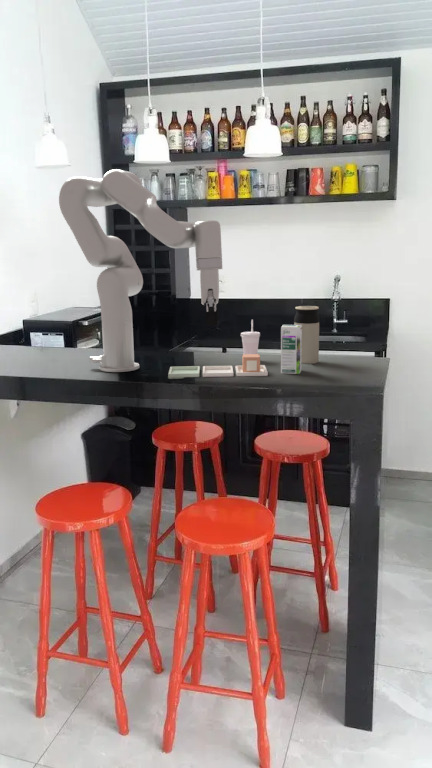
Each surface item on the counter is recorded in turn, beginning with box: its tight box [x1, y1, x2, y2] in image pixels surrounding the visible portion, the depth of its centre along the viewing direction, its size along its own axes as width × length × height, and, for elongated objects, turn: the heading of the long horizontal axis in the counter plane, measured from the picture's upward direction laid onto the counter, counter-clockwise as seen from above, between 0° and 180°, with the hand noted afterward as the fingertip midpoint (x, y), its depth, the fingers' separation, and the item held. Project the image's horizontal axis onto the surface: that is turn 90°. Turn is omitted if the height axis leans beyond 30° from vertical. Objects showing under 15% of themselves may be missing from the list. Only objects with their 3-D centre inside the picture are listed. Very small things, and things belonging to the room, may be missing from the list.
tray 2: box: [202, 365, 235, 378], centre depth 194 cm, size 9×11×2 cm
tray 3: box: [234, 364, 269, 377], centre depth 194 cm, size 9×11×2 cm
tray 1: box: [167, 365, 201, 380], centre depth 194 cm, size 9×11×2 cm
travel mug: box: [293, 305, 320, 365], centre depth 209 cm, size 8×8×18 cm
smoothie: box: [240, 319, 261, 354], centre depth 212 cm, size 6×6×14 cm
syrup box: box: [280, 324, 302, 375], centre depth 193 cm, size 6×6×14 cm
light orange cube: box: [241, 353, 261, 372], centre depth 194 cm, size 5×5×5 cm
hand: (212, 323), depth 191 cm, fingers open, 9 cm apart
